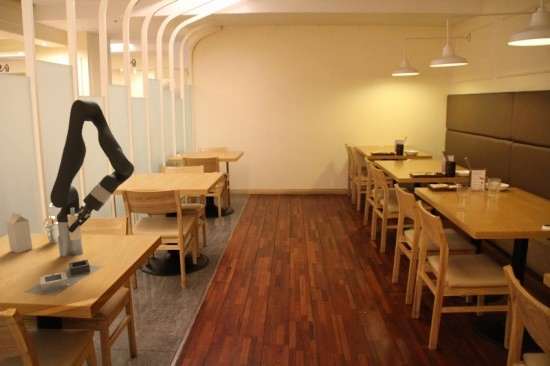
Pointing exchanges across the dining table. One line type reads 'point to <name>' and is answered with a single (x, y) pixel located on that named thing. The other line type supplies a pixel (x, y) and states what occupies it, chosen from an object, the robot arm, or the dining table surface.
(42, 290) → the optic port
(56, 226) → the cup with straw
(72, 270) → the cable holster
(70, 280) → the port board
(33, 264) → the dining table surface
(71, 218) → the plug
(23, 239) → the milk carton
